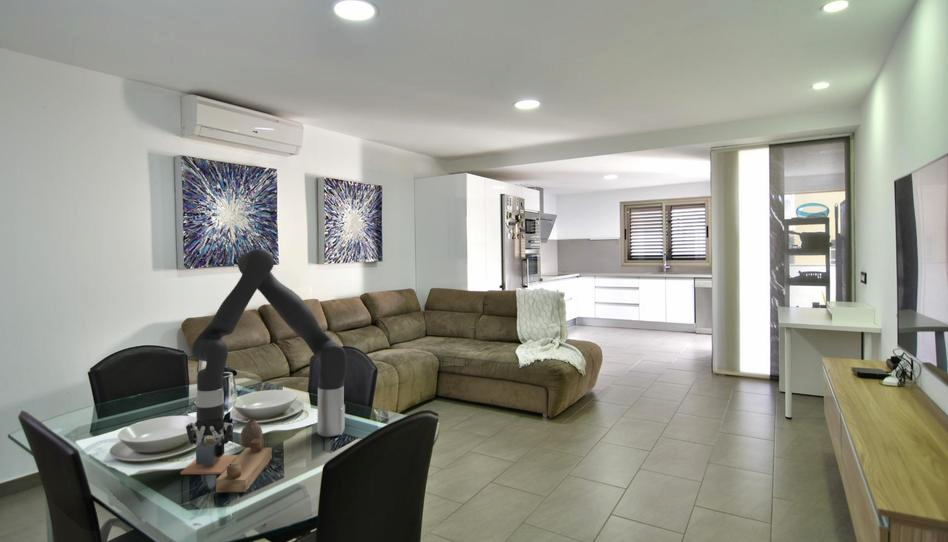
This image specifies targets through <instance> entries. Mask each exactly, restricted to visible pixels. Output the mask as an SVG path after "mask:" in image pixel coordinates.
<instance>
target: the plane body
mask: <svg viewBox="0 0 948 542" xmlns="http://www.w3.org/2000/svg"><path fill="white" fill-rule="evenodd" d="M264 442H265V441H264V438H262V439H253V440H252V441H251V443H250V448H246V447H245V448H244V450H243V451H242V452H240V453H239V455H238V457H237V458H236V459H235V460H234V461H233V462H232V463H231V465H229V466H228V467H227V469H226V470H225V471H224V472H223V473H222V474H219V476H218V477H217V478H216V479H215V493H246V492H247V491H248V490H249V488H250V487H251V486H252V485H253V483H254V482H255V481H256V480H257V478H258V476H260V474H261V472H263V470H264V469H265V468H266V466H267V465H268V464H269V463H270V461H271V460H272V458H273V457H272V455H273V453H272V451H273V448H272V447H264ZM250 485H251V486H250ZM247 489H248V490H247ZM246 490H247V491H246Z"/></svg>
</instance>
